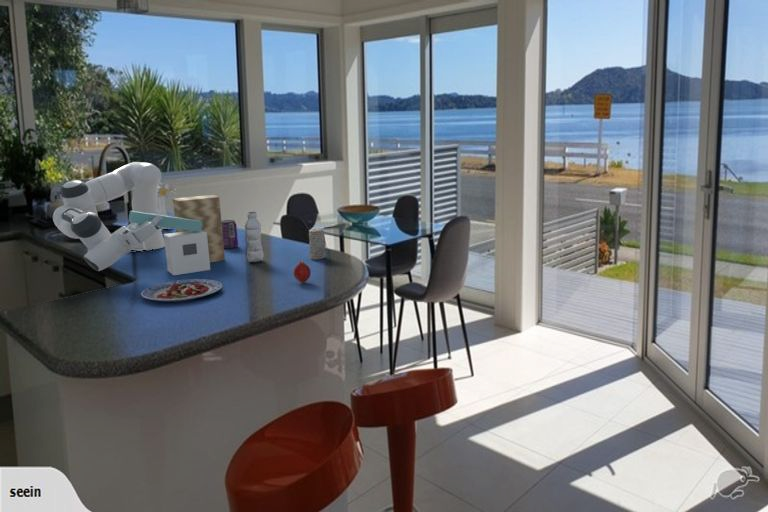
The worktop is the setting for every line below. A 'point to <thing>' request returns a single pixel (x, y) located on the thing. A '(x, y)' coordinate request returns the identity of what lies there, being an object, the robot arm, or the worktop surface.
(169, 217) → the teal block
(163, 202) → the flower vase
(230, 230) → the beverage can
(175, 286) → the ceramic plate
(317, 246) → the carving
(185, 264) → the white box
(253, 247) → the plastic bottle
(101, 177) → the robot arm
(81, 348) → the worktop surface
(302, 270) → the red pomegranate
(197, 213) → the oak stand
